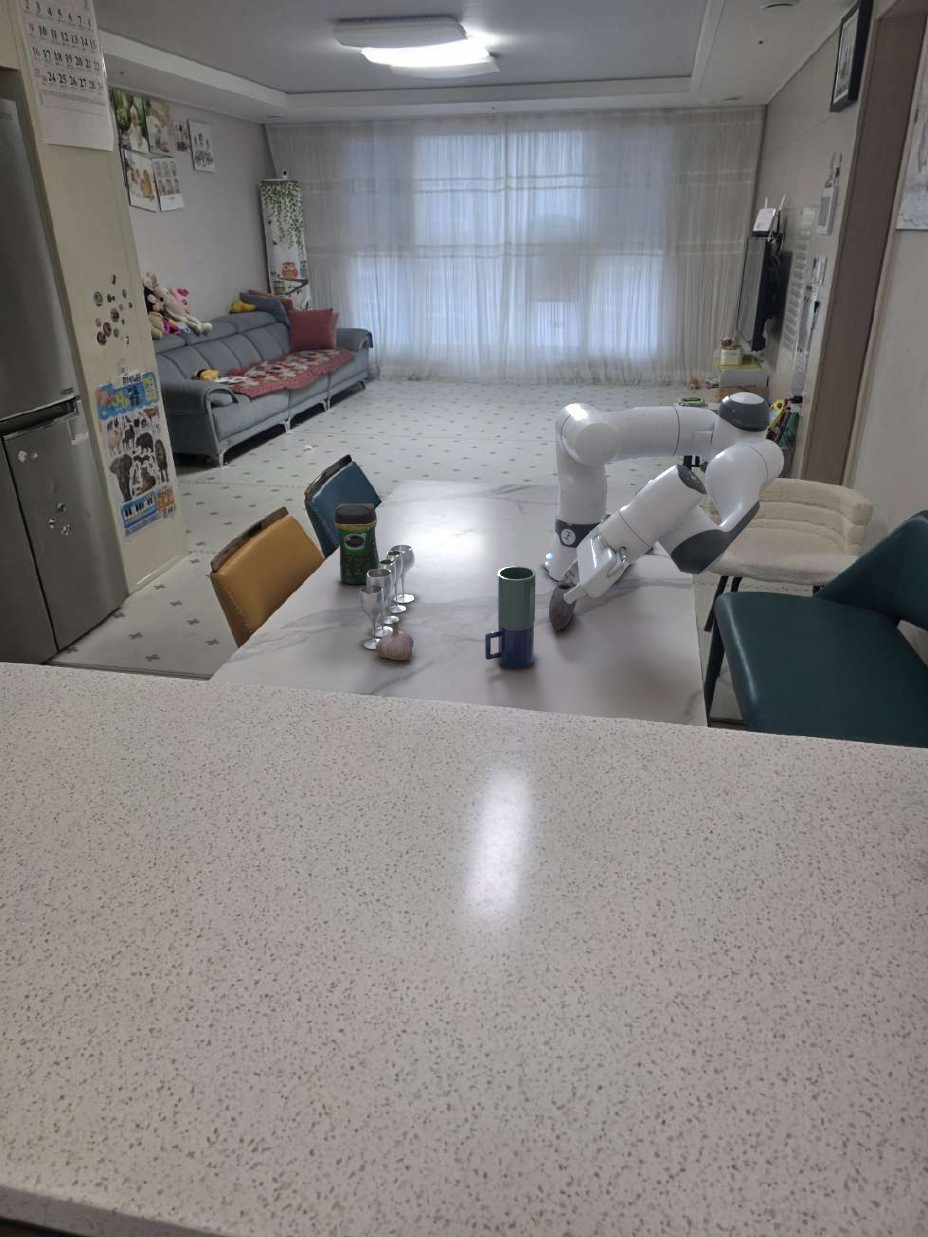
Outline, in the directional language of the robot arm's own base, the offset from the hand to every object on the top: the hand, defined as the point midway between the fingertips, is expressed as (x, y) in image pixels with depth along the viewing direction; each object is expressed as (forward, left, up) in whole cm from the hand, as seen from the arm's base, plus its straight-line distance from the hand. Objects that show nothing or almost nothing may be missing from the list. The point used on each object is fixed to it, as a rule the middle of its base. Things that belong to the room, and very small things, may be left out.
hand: (565, 589), depth 150 cm
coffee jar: (-8, -60, -15) cm, 63 cm away
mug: (+6, -8, -15) cm, 18 cm away
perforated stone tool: (-15, -9, -15) cm, 23 cm away
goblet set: (+5, -39, -15) cm, 42 cm away
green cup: (+5, -7, -7) cm, 11 cm away
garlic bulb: (+17, -27, -15) cm, 36 cm away
